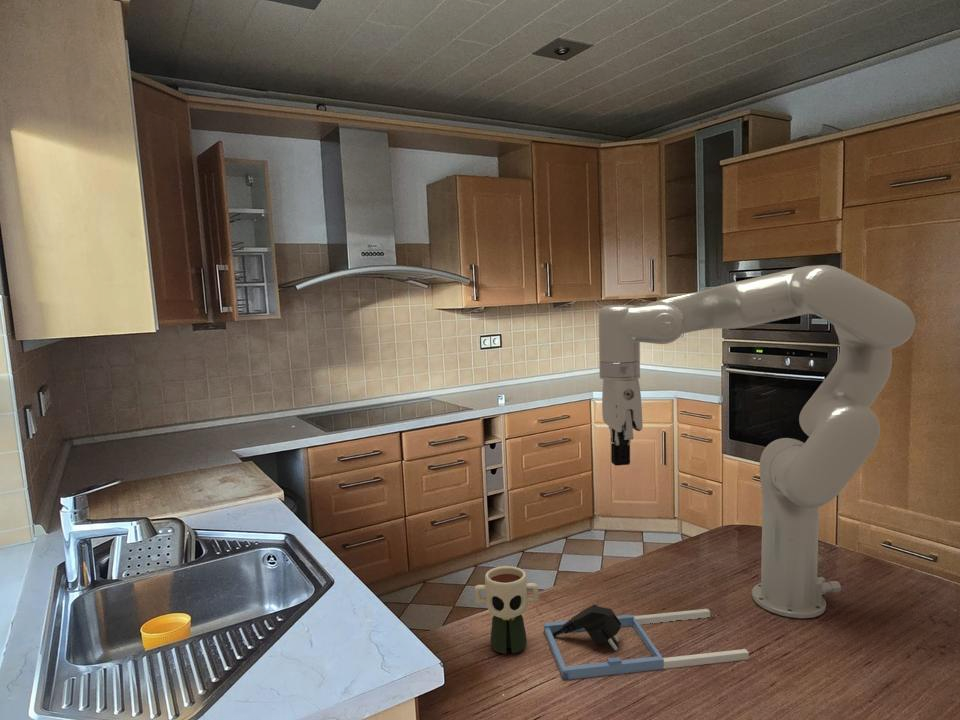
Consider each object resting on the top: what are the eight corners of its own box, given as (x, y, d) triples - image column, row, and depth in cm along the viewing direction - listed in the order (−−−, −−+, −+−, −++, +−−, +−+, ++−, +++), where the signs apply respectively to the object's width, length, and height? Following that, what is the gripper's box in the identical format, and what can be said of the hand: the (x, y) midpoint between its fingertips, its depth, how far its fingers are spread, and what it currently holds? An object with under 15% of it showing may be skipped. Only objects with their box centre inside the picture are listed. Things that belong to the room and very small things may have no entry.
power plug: (552, 623, 112) (606, 593, 108) (577, 659, 111) (632, 630, 107) (545, 640, 107) (602, 610, 103) (571, 678, 106) (629, 648, 102)
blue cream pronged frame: (707, 614, 114) (707, 603, 114) (748, 659, 101) (748, 646, 100) (544, 631, 111) (543, 620, 111) (563, 680, 97) (563, 667, 97)
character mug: (476, 659, 103) (473, 584, 102) (478, 636, 110) (474, 566, 109) (541, 657, 103) (538, 582, 102) (539, 634, 110) (535, 564, 109)
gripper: (654, 374, 110) (654, 474, 112) (624, 364, 125) (625, 452, 127) (613, 376, 109) (614, 477, 111) (588, 366, 124) (590, 455, 126)
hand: (620, 463), depth 119 cm, fingers closed
